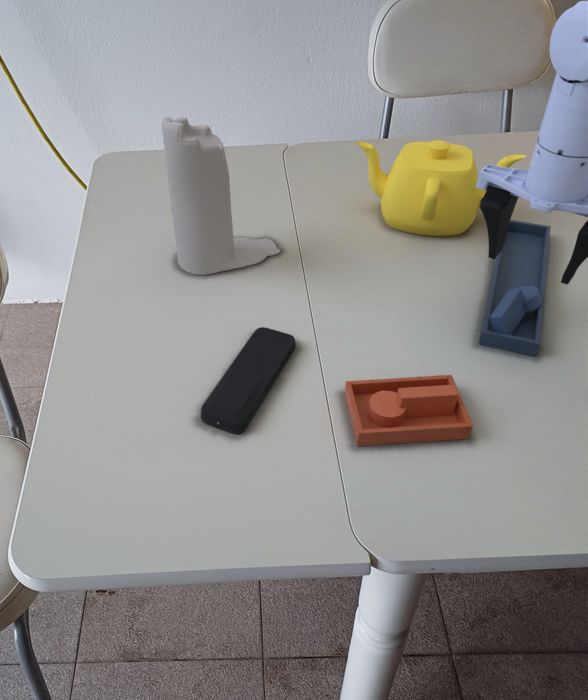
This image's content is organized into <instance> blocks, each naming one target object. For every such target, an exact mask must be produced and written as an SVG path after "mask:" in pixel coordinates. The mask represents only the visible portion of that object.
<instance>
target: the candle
mask: <svg viewBox="0 0 588 700" xmlns="http://www.w3.org/2000/svg"><path fill="white" fill-rule="evenodd" d="M161 131H162V141H163V148H164V156H165V164H166V175H167V184H168V192H169V200H170V207H171V208H170V209H171V214H172V221H173V222H172V223H173V232H174V239H175V247H176V256H177V263H178V267H180V268H181V270H183V271H184V272H186V273H189V274H193V275H199V276H201V275H202V276H205V275H212V274H217V273H220V272H221V273H222V272H226V271H227V272H228V271H231V270H237V269H242V268H246V267H249V266H253V265H257V264H260V263H261V262H263V261H265V260H266V259H267V257H270V256H275V255H277V254H279V253H280V252H281V249H279V248H278V247H277V244H276V243H275V242H274V241H273V240H272V239H270V238H256V239H253V238H250V237H245V236H244V237H242V236H240V237H234V227H233V226H234V225H233V216H232V215H233V214H232V201H231V200H232V199H231V183H230V172H229V167H228V161H227V156H226V150H225V147H224V144H223V142H222V141H221V138H219V136H218V135H216V134H213V132H212V129H211V127H210V125H206V124H200V125H199V124H198V125H190V123H189V120H188V118H187V117H184V116H183V117H178V118H175V119H172V118H171V117H169V116H167V117H166V116H165V117H163V119H162V122H161Z"/></svg>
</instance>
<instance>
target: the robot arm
mask: <svg viewBox="0 0 588 700" xmlns="http://www.w3.org/2000/svg"><path fill="white" fill-rule="evenodd" d="M549 57H550V61H551V65H552V67H553V69H554V70H555V72H556V73H555V77H554V80H553V83H552V86H551V91H550V93H549V94H550V95H549V98H548V99H547V100H548V101H547V104H546V107H545V112H544V114H543V118H542V121H541V124H540V128H539V132H538V135H537V138H536V142H535V145H534V150H533V152H532V156H531V159H530V160H531V161H530V163H529V166H528V169H524V168H523V169H522V168H516V167H515V168H514V167H513V168H512V167H509V168H506V167H499V166H496V165H494V164H490V163H487V164H486V165H484V166H483V167H482V168H481V169H480V170H479V173H478V181H477V185H476V188H477V189H481V190H486V193H485V195H484V197H483V198H482V199H481V201H480V207H479V208H480V211H481V213H482V216H483V218H484V219H483V220H484V222H485V226H486V230H487V231H486V232H487V240H488V258H489V259H492V260H495V258H496V257H497V256H498V255H499V253H500V252H501V251H502V249H503V246H504V243H505V240H506V235H507V231H508V226H509V222H510V220H512V216H513V214H514V210H515V207H516V206H517V203H518V200H519V199H523V200H524V201H526V202H529V207H530V209H532V210H535V211H538V212H542V213H545V214H550V213H553V211H559V212H565V213H569V214H570V213H571V214H575V215H578V216H581V217H584V218H587V221H586V222H584V224H583V225H582V226H581V228H580V229H579V231H578V232H577V237H576V239H575V243H574V246H573V250H572V253H571V257H570V259H569V261H568V264H567V265H566V268H565V270H564V272H563V274H562V276H561V279H560V283H561V284H564V285H569V284H570V282H571V281H572V280H573V278H574V276H575V275H576V272H577V270H578V269H579V268H580V266H581V265H582V264H583V263H584V262H585V261H586V259H588V0H580V1H578V2H577V3H576V4H575V5H574V6H571V7H569V8H568V9H566V10H565V11H564V12H562V14H561V15H560V16H559V17H558V19H557V20H556V22H555V24H554V25H553V28H552V31H551V35H550V39H549Z"/></svg>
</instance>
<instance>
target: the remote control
mask: <svg viewBox="0 0 588 700" xmlns="http://www.w3.org/2000/svg"><path fill="white" fill-rule="evenodd" d="M296 346H297V345H296V337H294V335H292V334H289V333H286V332H283V331H280V330H276V329H272V328H269V327H265V326H260V327H257V328H256V329H255V330H254V331H253V333H252V334H251V336H250V337H249V339H248V340H247V341H246V343H245V344H244V346H243V347H242V348H241V350H240V351H239V353H238V354H237V356H236V357H235V358H234V360H233V361H232V362H231V364H230V365H229V367H228V369H227V370H226V371H225V372H224V374H223V375H222V377H221V378H220V379H219V381H218V382H217V384H216V385H215V387H214V388H213V389H212V391H211V392H210V394H209V395H208V397H207V398H206V400H204V402H203V404H202V406H201V409H200V419H201V421H202V422H203V423H204V424H206V425H209V426H212V427H215V428H218V429H220V430H223V431H226V432H228V433H232V434H241V433H243V432H244V431H245V430H246V429H247V427H248V426H249V424H250V423H251V421H252V420H253V417H254V416H255V414H256V413H257V411H258V409H259V408H260V407H261V404H262V403H263V402H264V400H265V399H266V397H267V395H268V393H269V392H270V390H271V388H272V387H273V385H274V383H275V382H276V380H277V379H278V377H279V375H280V374H281V373H282V371H283V370H284V368H285V366H286V364H287V363H288V361H289V360H290V358H291V357H292V355H293V353H294V351H295V350H296Z"/></svg>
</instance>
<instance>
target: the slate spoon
mask: <svg viewBox="0 0 588 700" xmlns="http://www.w3.org/2000/svg"><path fill="white" fill-rule="evenodd" d="M541 303H542V300H541V297H540V294H539V290H538V288H537V287H535V286H522V287H518V288H516V289H509V290H508V292H507V293H506V295H505V296H504V297H503V299H502V300H501V302H500V303H499V305H498V306H497V307H496V309H495V310H494V312H493V313H492V315H491V316H490V320H491V323H492V326H493V329H494V332H498V333H503V334H508V335H512V334H513V332H514V331H515V329H516V327H517V326H518V324H519V323H520V321H521V320H522V318H523V317H524V315H525V314H526V313H528V312H531V311H533V310H535V309H537V308H538V307H539V306H540V305H541Z"/></svg>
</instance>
